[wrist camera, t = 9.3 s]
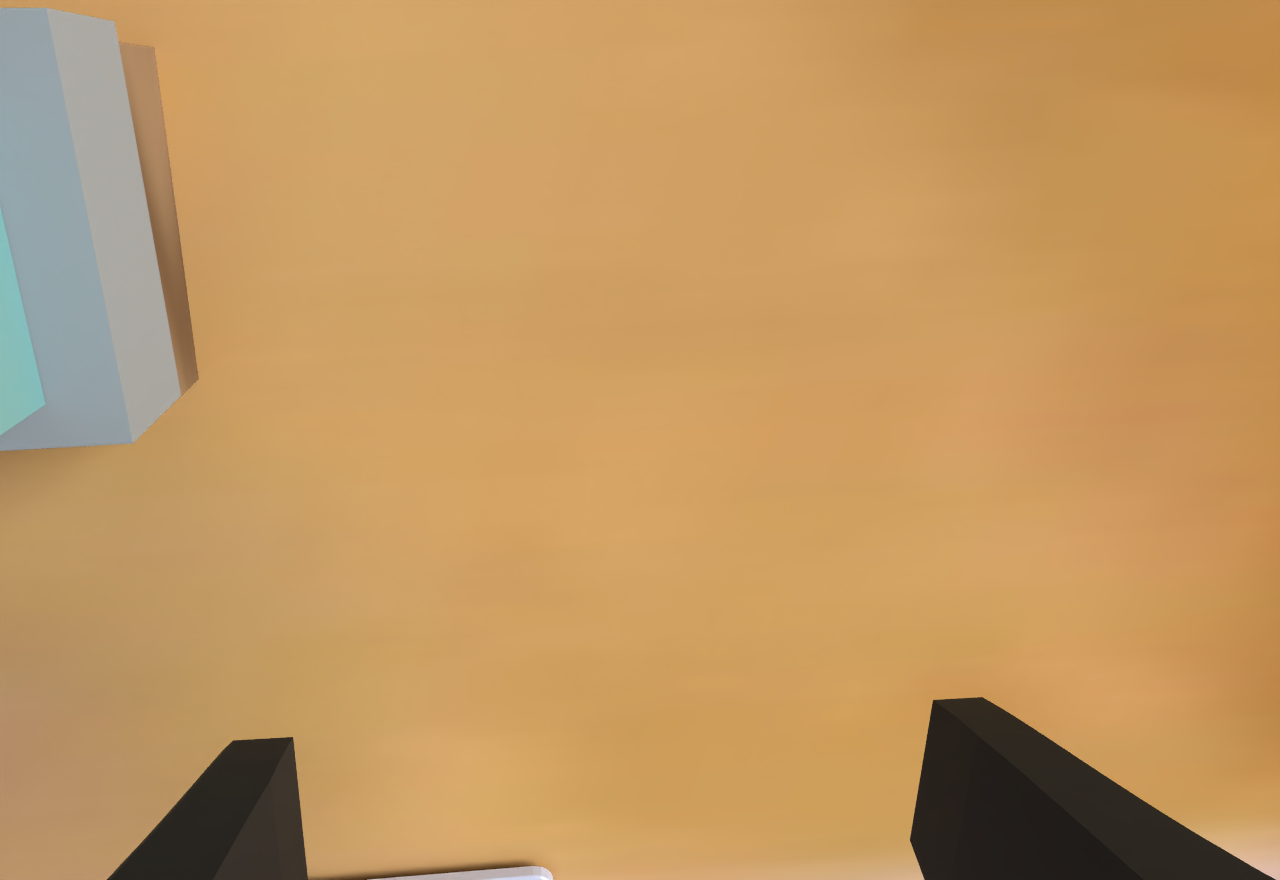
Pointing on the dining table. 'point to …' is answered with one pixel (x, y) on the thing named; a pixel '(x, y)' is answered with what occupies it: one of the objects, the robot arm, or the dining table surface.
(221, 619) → the dining table surface
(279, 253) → the dining table surface
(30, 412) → the teal block
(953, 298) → the dining table surface
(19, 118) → the slate top slab
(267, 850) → the robot arm
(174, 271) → the walnut base slab
